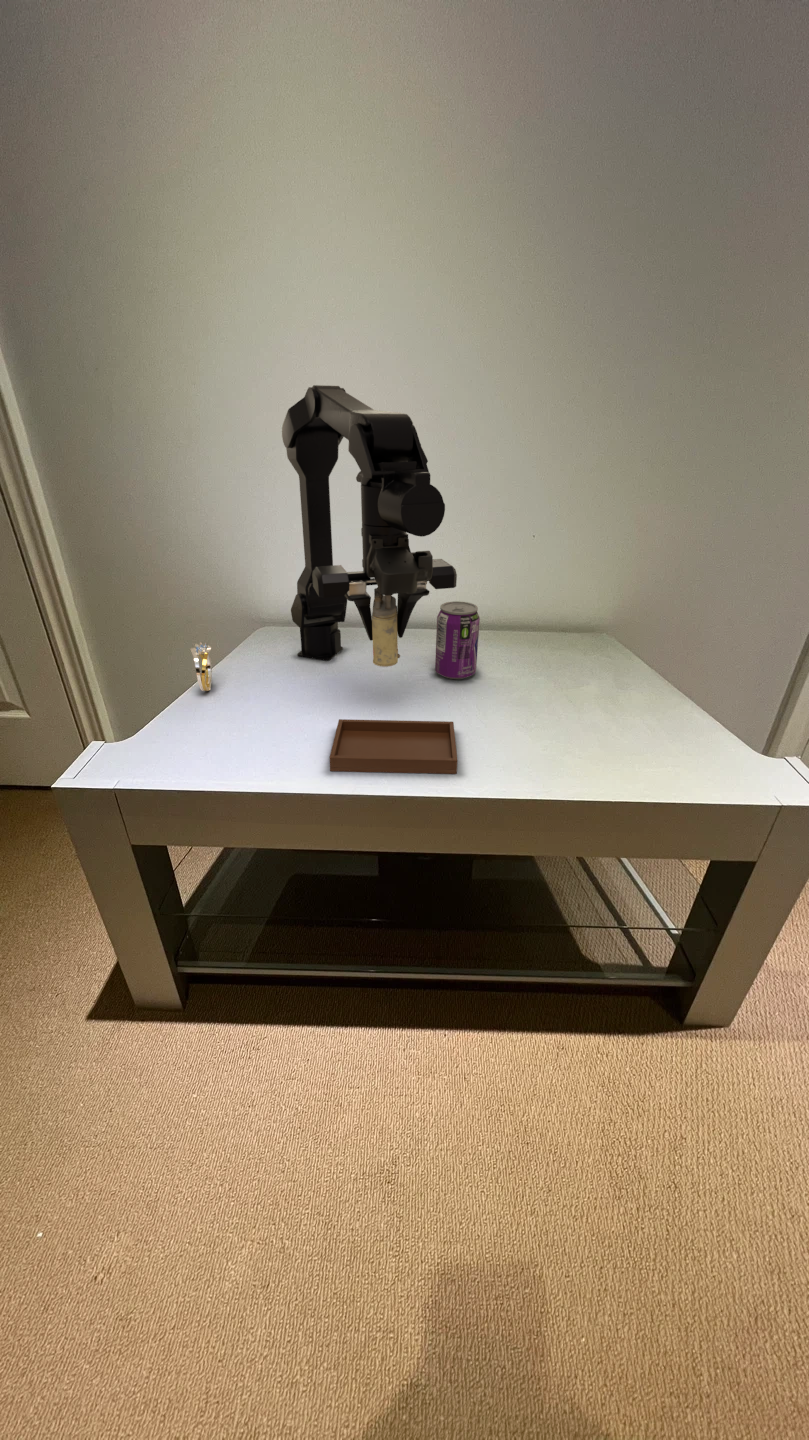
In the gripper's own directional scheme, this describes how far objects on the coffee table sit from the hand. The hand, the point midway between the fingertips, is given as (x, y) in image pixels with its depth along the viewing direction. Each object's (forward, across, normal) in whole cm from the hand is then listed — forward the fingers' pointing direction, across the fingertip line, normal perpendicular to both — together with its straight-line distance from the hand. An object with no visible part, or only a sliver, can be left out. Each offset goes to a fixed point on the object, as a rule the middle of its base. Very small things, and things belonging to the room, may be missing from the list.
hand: (385, 638), depth 83 cm
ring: (+12, -26, +16) cm, 33 cm away
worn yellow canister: (+3, 0, 0) cm, 3 cm away
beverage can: (+12, +16, +12) cm, 23 cm away
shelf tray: (+12, -2, -10) cm, 16 cm away
